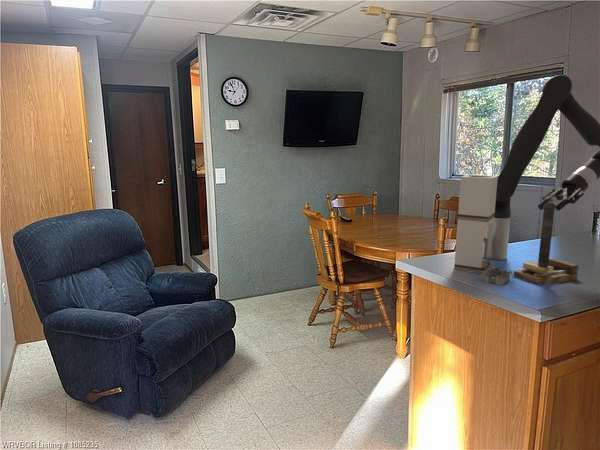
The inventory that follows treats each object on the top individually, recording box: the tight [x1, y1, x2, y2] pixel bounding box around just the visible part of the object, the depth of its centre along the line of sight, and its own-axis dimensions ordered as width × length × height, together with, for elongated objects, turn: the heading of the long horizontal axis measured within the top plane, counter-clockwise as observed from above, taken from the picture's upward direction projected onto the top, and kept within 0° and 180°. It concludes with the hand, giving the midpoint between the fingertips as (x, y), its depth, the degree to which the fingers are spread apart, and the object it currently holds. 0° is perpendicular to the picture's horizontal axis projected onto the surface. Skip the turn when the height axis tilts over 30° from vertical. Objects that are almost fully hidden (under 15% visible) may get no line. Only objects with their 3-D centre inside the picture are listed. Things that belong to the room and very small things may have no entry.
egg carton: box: [482, 265, 512, 285], centre depth 157 cm, size 11×8×4 cm
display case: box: [453, 174, 499, 275], centre depth 168 cm, size 11×11×35 cm
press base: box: [513, 258, 579, 286], centre depth 160 cm, size 18×11×5 cm, turn 111°
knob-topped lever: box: [522, 202, 556, 274], centre depth 156 cm, size 5×8×24 cm, turn 21°
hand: (547, 208), depth 164 cm, fingers open, 8 cm apart
